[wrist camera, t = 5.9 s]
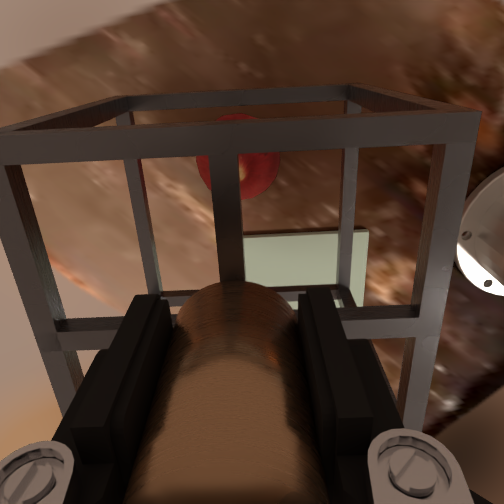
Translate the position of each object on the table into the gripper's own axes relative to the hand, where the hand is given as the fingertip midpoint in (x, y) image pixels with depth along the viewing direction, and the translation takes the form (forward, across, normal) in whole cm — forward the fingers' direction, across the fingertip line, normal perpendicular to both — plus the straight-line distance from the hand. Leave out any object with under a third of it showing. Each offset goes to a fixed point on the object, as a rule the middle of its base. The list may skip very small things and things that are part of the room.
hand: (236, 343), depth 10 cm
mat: (+24, -4, +13) cm, 28 cm away
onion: (+24, +1, 0) cm, 24 cm away
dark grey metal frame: (+10, 0, 0) cm, 10 cm away
